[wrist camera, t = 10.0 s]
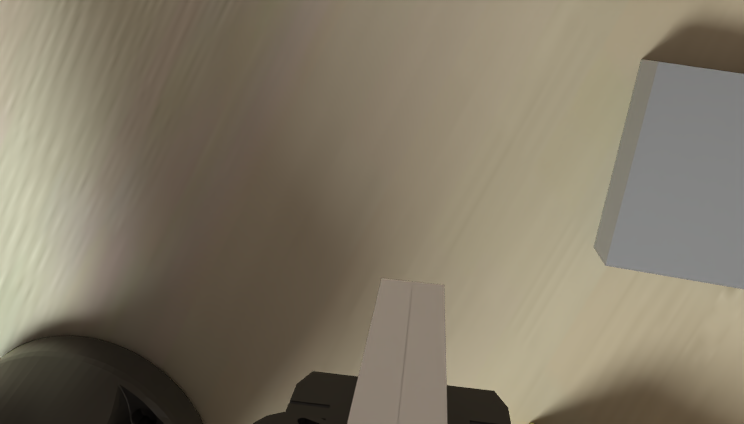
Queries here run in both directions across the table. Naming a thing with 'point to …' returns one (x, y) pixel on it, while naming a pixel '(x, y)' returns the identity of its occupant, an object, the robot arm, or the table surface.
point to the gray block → (679, 177)
